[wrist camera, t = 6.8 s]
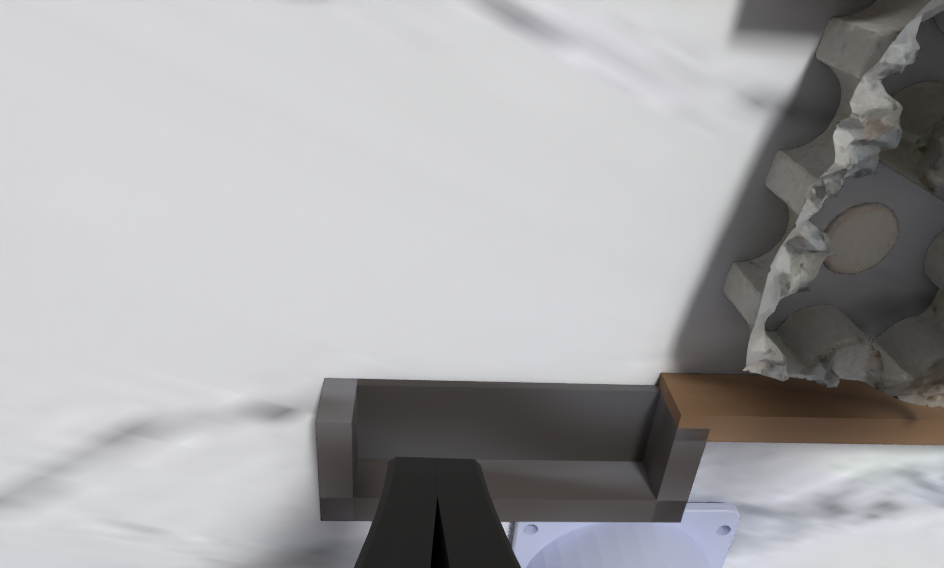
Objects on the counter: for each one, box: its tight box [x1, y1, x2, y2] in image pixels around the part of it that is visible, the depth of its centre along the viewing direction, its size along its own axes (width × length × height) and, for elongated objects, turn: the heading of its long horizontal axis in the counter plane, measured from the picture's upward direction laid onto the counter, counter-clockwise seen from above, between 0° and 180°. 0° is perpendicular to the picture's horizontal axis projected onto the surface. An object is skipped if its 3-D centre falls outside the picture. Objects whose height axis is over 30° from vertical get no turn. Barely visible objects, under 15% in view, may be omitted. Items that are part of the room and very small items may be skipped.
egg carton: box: [723, 0, 944, 408], centre depth 18 cm, size 11×8×4 cm
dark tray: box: [316, 373, 944, 523], centre depth 18 cm, size 21×24×3 cm
